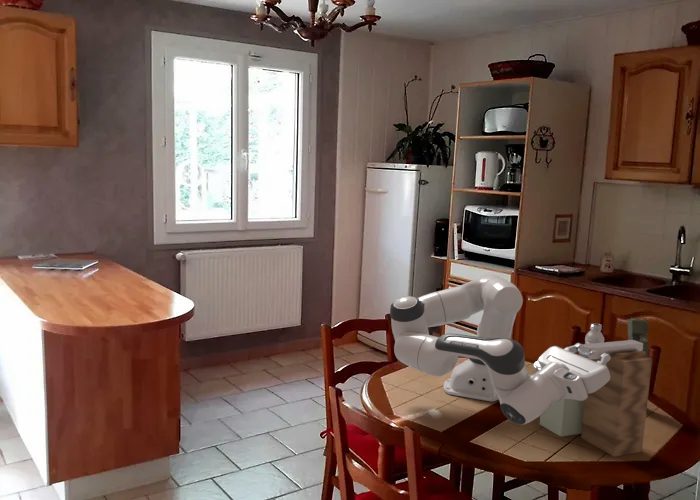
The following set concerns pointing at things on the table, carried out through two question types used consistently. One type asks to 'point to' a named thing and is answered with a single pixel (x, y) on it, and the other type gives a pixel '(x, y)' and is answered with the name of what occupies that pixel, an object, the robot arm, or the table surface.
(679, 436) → the table surface
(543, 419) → the shelf block
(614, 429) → the wood grain block
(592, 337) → the plastic bottle
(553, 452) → the table surface
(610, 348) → the link bar
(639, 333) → the mechanical leg
